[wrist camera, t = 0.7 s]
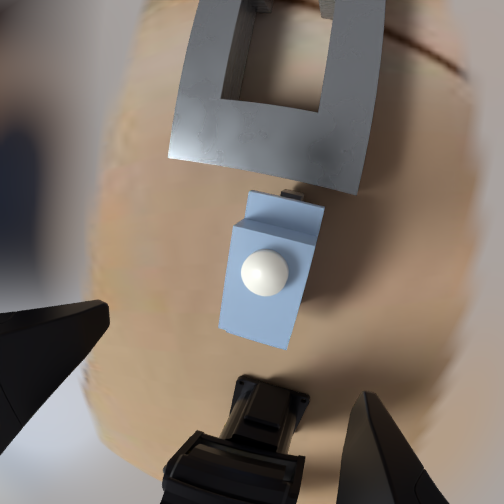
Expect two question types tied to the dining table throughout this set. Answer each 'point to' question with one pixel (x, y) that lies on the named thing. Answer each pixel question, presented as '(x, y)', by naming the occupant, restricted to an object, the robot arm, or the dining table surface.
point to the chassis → (272, 116)
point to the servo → (269, 266)
